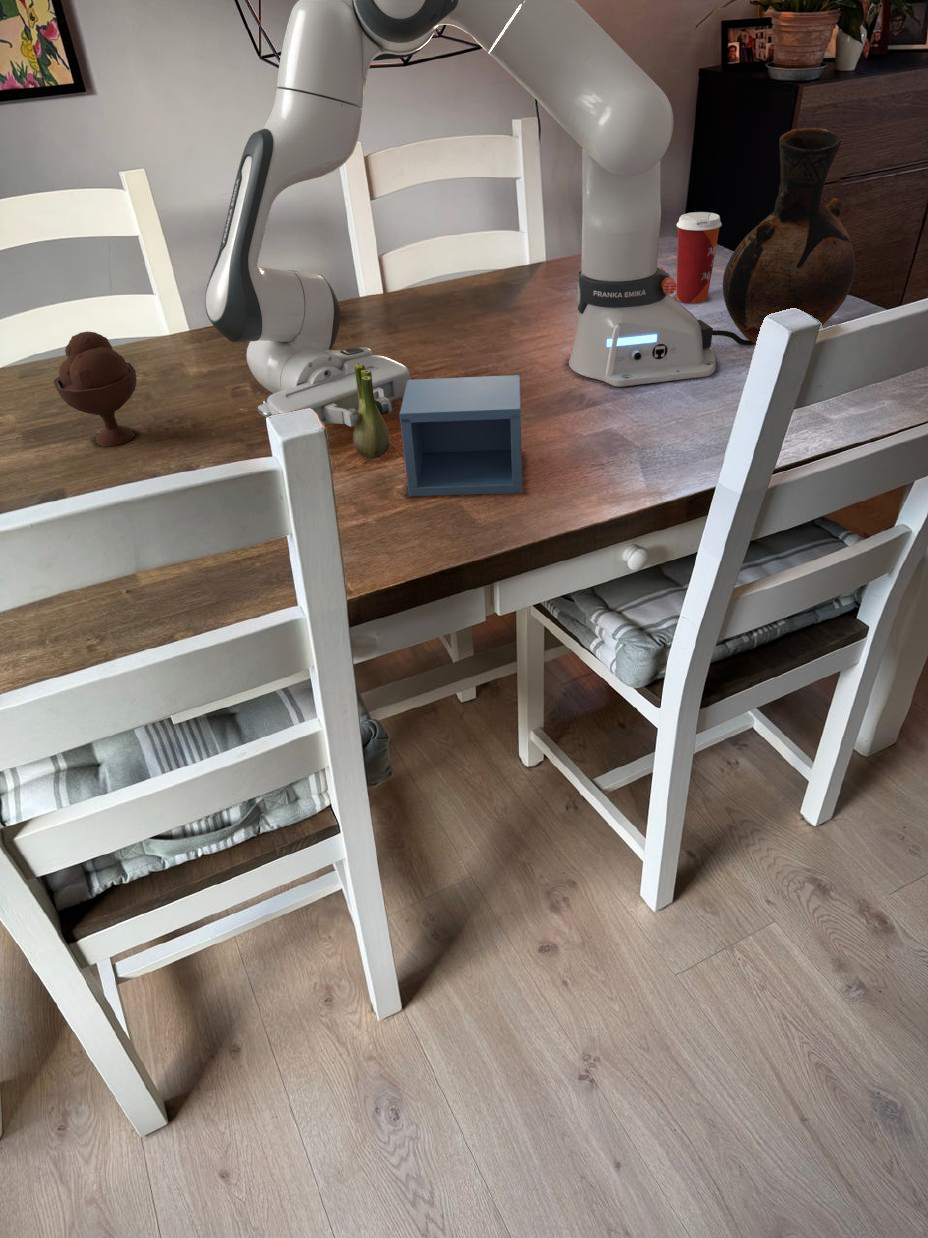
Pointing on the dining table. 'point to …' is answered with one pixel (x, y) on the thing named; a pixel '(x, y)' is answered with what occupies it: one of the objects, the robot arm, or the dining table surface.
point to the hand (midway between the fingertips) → (371, 413)
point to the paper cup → (696, 255)
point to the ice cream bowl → (97, 383)
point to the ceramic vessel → (793, 243)
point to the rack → (462, 435)
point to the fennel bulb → (369, 419)
